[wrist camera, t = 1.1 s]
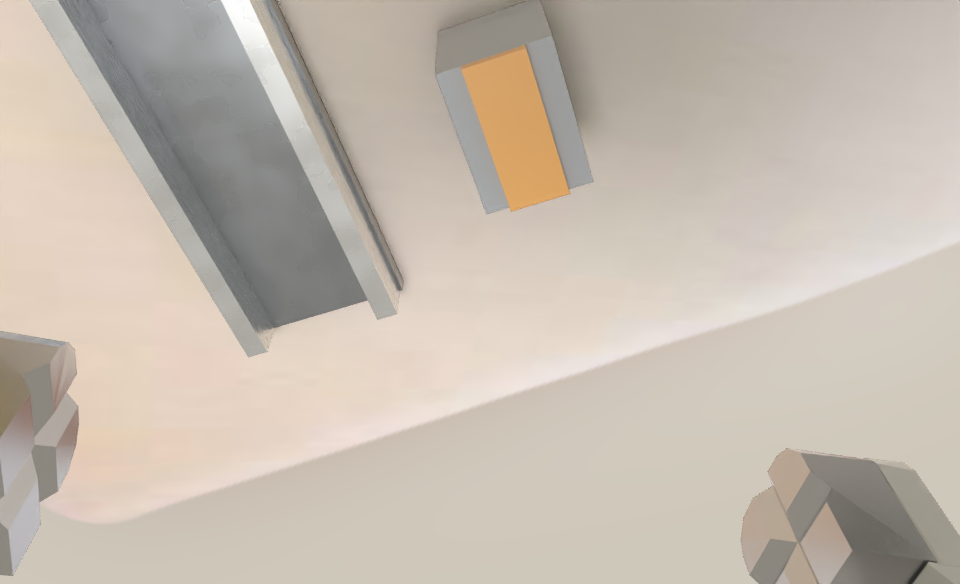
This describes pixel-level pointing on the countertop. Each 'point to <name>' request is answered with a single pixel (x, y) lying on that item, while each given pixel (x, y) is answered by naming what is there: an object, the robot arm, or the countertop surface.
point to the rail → (232, 154)
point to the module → (511, 107)
